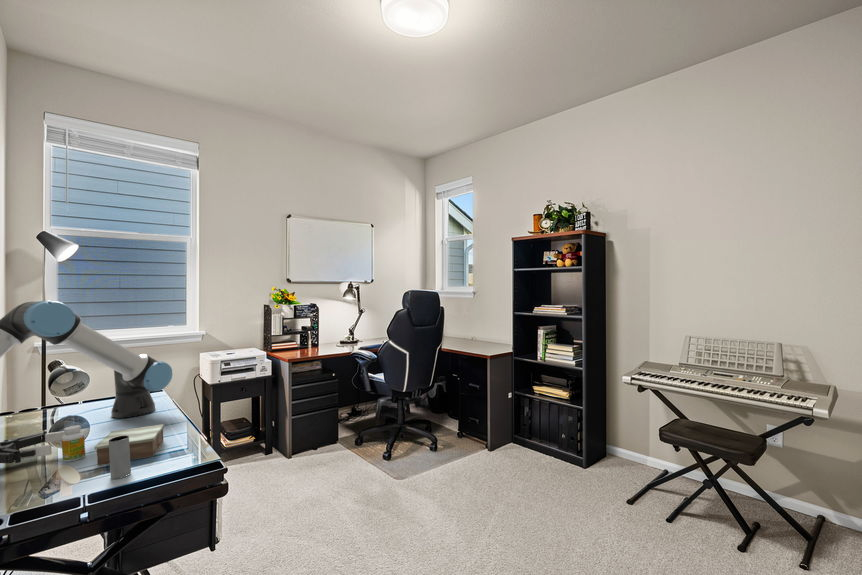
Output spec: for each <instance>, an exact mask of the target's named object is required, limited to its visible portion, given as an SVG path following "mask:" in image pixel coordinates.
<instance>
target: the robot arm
mask: <svg viewBox="0 0 862 575" xmlns="http://www.w3.org/2000/svg"><path fill="white" fill-rule="evenodd" d="M34 336H35V337H38V338H40V339H42V341H46V343H47V342H48V343H49V344H52V345H54V346H58V345H65V346H66V347H69V348H70V349H72V350H74V351H76V352H78V353H80V354H82V355H84V356H86V357H88V358H90V359H92V360H94V361H96V362H98V363H100V364H101V365H104V366H105V367H108V368H109V369H111V370H113V373H114V374H113V375H114V389H115V399H114V402H113V405H112V408H111V414H110V416H111V418H113V417H115V418H114V419H125V418H124V417H128V418H132V417H131V416H134V417H138V416H137V415H139V416H143V415H146V413H147V414H150V413H152V412H154V411H156V404H155V401H154V399H153V396H152V395H151V392H159V391H162V390H164V389H166V387H168V386H169V385H170V384H171V381H172V379H173V368H172V366H171V365H170V364H169V363H168V362H165V361H163V360H160V361H159V360H156V359H155V358H153V357H151V356H149V355H147V354H146V353H141V354H137V353H135V352H134V351H133V350H130V349H128V348H126V347H125V346H123V345H121V344H120V343H118V342H117V341H114V340H112V339H111V338H110V337H107V336H106V335H104V334H102V333H100V332H98V331H97V330H94V329H93V328H91V327H90V326H88V325H86V324H84V323H83V321H82V317H81V316H79V315H78V314H76V313H75V312H74V311H73V309H72V308H71V307H70V306H68V305H67V304H65V303H63V302H60V301H57V300H40V301H39V300H38V301H25V302H24V303H20V304H18V305H17V306H16V307H13V309H11V310H9V312H7V313H6V314H5V315H3V316H2V317H1V318H0V359H1V358H2V357H3V356H4V355H6V354H7V353H8V352H9V351H10V350H11V349H13V348H14V347H16V346H21V345H22V344H24V343H25V342H26V341H27V340H29V339H30V338H32V337H34ZM149 412H150V413H149ZM142 414H143V415H142ZM64 435H65V434H64V430H63V431H55V432H48V431H47V430H43V432H39V433H34V434H29V435H26V436H20V437H16V438H11V439H10V438H9V439H4V440H3V441H1V442H0V464H14V462H15V464H19V463H21V462H22V460H23V459H30V458H31V459H32V458H38V457H44V456H49V455H52V453H53V452H52V444H47V443H55V442H62V437H63V436H64ZM42 443H45V445H39V446H35V445H38V444H42Z"/></svg>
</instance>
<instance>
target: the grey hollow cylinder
mask: <svg viewBox="0 0 862 575" xmlns="http://www.w3.org/2000/svg"><path fill="white" fill-rule="evenodd" d="M109 457H110V463H109V471H110V479H112V480H118V478H120V479H123V478H122V477H124V476H126V475H128V474H130V473H132V468H131V466H132V465H131V460H130V446H129V436H126V435H125V436H118V437H114V438H111V439H110V440H109ZM128 476H129V475H128ZM126 477H127V476H126ZM124 478H125V477H124Z"/></svg>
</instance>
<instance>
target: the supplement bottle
mask: <svg viewBox="0 0 862 575" xmlns="http://www.w3.org/2000/svg"><path fill="white" fill-rule="evenodd" d="M63 431H64V434H65V435H64V436H63V437H62V441H61V450H62V451H61V456H62V462H64V463H68V462H69V463H70V462H75V461H79V460H81V459H83V458H85V456H86V445H85V444H86V442H85V433H84V432H83V431H82V427H81V425H78V424H76V425H70V426H67V427H64V428H63Z"/></svg>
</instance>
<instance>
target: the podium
mask: <svg viewBox="0 0 862 575" xmlns="http://www.w3.org/2000/svg"><path fill="white" fill-rule="evenodd" d="M164 428H165V423H163V424H155V425H148V426H142V427H134V428H127V429H118V430H113V431H110V432H109V433H108V434H107V435H106V436H105V437H104V438H102V439H101V440H100V441H99V442H98V443H97V444H96V445H95V446H94V449H93V450H96V461H97V462H96V463H97V466H102V464H103V465H107V464H108V463H109V464H110V457H109V440H110V439H111V438H114V437H118V436H125V435H126V436H129V446H130V459H134V460H139V459H138V458H140V459H145V458H151V457H154V456H155V454H156V453H157V451H158V450H159V449H160V447H161V446H162V444H163V443H164Z"/></svg>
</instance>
